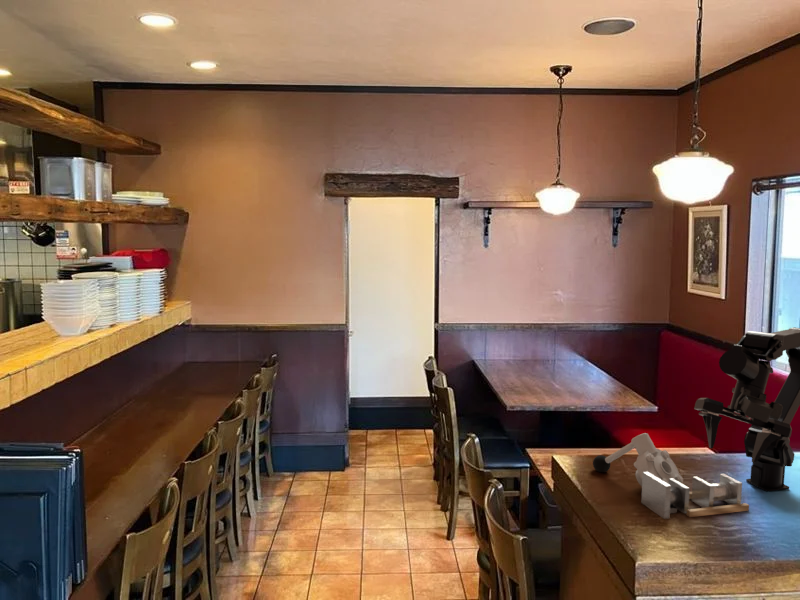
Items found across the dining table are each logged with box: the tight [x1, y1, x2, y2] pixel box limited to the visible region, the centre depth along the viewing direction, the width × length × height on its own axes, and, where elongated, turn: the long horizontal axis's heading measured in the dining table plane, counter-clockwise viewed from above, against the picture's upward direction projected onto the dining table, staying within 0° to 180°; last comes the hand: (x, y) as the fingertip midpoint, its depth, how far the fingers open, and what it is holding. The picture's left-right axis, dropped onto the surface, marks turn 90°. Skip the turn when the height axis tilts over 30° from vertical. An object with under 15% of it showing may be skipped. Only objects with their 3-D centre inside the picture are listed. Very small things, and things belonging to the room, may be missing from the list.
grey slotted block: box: [690, 473, 743, 508], centre depth 141 cm, size 8×6×6 cm
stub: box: [640, 472, 691, 520], centre depth 138 cm, size 7×8×7 cm
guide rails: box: [686, 490, 750, 518], centre depth 141 cm, size 14×9×1 cm, turn 103°
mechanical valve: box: [592, 432, 684, 487], centre depth 153 cm, size 10×18×15 cm
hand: (732, 455), depth 141 cm, fingers open, 9 cm apart
